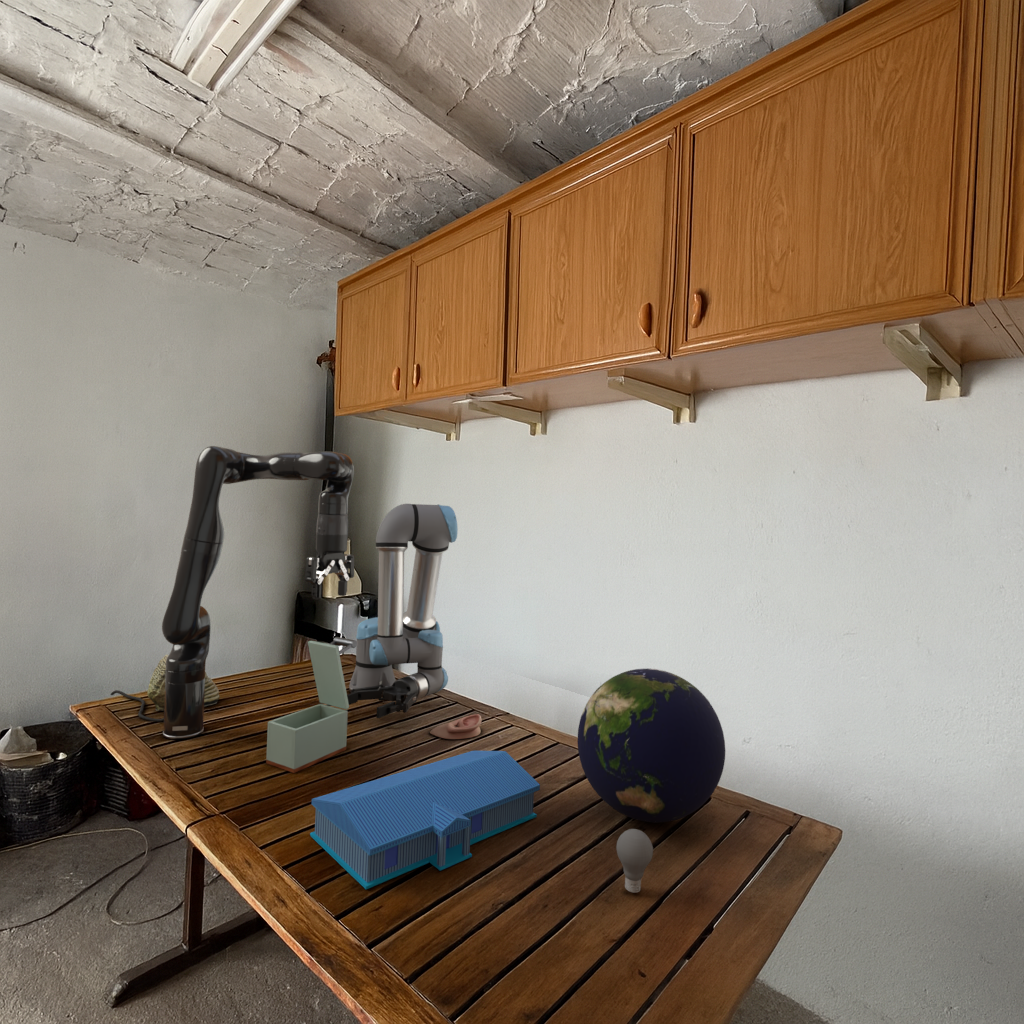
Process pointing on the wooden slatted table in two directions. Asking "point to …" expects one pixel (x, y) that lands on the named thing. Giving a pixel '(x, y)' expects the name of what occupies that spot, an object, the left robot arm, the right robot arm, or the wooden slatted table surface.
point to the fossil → (158, 687)
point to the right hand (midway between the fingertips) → (358, 707)
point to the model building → (423, 815)
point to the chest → (306, 737)
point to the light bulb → (634, 857)
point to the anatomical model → (459, 728)
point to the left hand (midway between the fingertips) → (329, 597)
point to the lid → (330, 671)
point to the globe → (651, 745)
